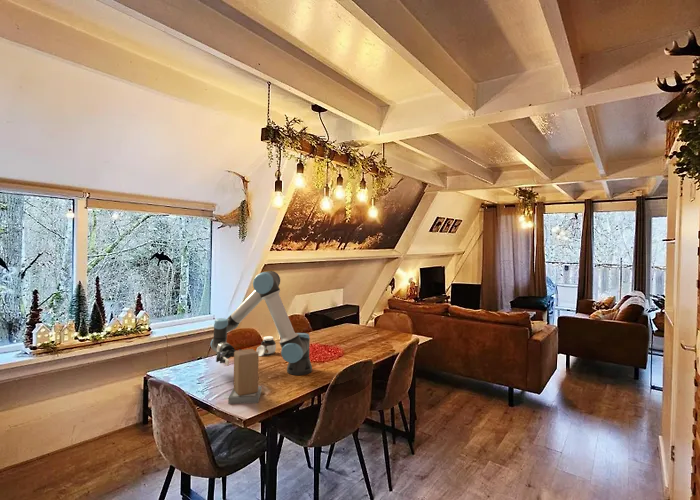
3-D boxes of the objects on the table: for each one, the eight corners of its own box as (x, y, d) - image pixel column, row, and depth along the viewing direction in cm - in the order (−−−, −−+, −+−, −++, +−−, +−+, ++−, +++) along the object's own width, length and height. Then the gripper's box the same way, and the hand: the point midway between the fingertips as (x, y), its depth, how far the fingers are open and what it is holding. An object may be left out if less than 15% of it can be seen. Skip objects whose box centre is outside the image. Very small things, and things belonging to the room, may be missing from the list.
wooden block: (252, 386, 197) (252, 348, 197) (258, 392, 189) (259, 352, 189) (233, 389, 192) (233, 350, 192) (238, 396, 184) (239, 355, 183)
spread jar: (276, 352, 269) (277, 336, 269) (271, 357, 258) (272, 340, 258) (260, 351, 271) (260, 335, 270) (254, 356, 259) (255, 339, 259)
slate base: (261, 391, 198) (261, 385, 198) (257, 402, 184) (258, 396, 184) (234, 392, 197) (234, 386, 197) (228, 403, 183) (228, 397, 183)
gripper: (246, 353, 223) (262, 364, 207) (202, 359, 208) (216, 372, 191) (246, 341, 223) (263, 351, 207) (203, 346, 207) (217, 357, 191)
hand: (240, 361), depth 199 cm, fingers open, 13 cm apart
